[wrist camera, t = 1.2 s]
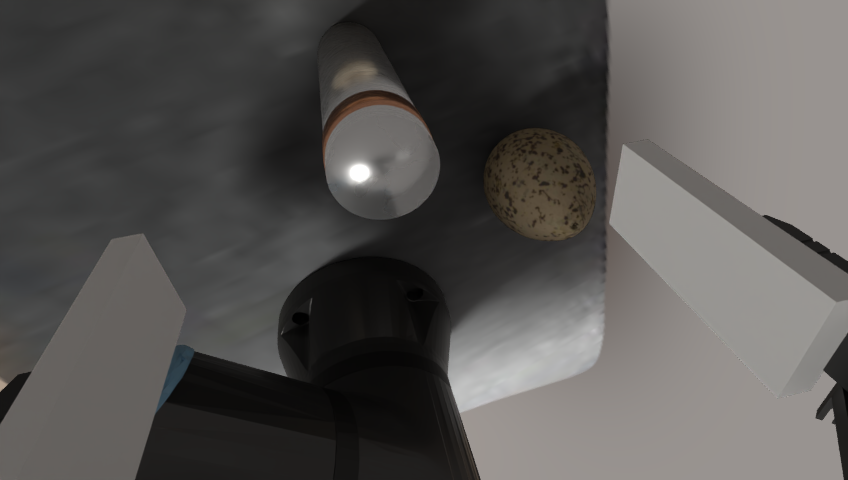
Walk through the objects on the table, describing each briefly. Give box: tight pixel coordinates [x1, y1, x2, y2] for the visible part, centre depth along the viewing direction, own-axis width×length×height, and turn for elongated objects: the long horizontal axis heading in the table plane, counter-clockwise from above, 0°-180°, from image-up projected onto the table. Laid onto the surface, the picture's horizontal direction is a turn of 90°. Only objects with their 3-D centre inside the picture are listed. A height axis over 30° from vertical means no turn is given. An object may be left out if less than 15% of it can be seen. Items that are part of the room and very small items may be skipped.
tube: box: [317, 22, 440, 220], centre depth 22 cm, size 4×4×16 cm
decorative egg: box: [483, 128, 596, 241], centre depth 31 cm, size 7×7×10 cm
